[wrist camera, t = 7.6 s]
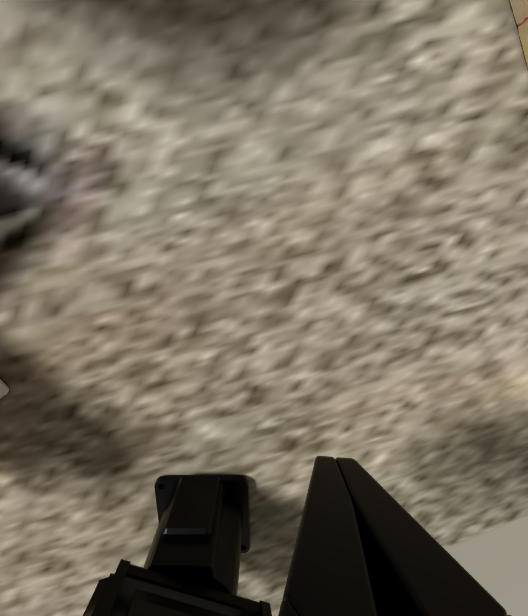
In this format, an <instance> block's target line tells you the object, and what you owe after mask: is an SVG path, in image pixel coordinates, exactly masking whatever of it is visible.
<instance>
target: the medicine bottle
mask: <svg viewBox="0 0 528 616" xmlns="http://www.w3.org/2000/svg"><path fill="white" fill-rule="evenodd" d="M8 391H9V388H8V386H7V385H6V384H5V383H4V382H3V381H2V380H1V379H0V398H2V397H3V396H5V395H6V394H7V393H8Z"/></svg>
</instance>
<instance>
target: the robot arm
mask: <svg viewBox="0 0 528 616" xmlns="http://www.w3.org/2000/svg"><path fill="white" fill-rule="evenodd" d="M161 483H162V484H164V485H162V484H161ZM239 483H242V484H243V485H240V484H239ZM155 494H156V503H157V511H158V520H159V525H158V528H157V531H156V534H155V537H154V540H153V542H152V545H151V548H150V551H149V554H148V556H147V559H146V562H145V565H144V568H142V567H139V566H135V565H132V564H130V562H129V561H126V560H122V559H121V561H120V563H119V565H118V568H117V570H116V572H115V574H112V573H111V574H110V576H109V577H107V578H104V579H101V580H99V583H98V585H97V587H96V589H95V591H94V593H93V595H92V598H91V600H90V602H89V604H88V606H87V608H86V610H85V612H84V614H83V616H272V614H271V608H270V603H267V602H264V601H260V602H256V601H253V600H250V599H246V598H243V597H240V596H237V591H238V578H239V566H240V553H246V552H248V551H249V548H250V527H249V490H248V479H247V478H246V477H244V476H160V477H159V478H158V479H157V480H156V483H155ZM278 616H511V615H507V613H506V610H505V609H504V608H503V607H502V606H501V605H500V604H499V603H498V602H497V601H496V600H495V599H494V598H493V597H492V596H491V595H490V594H489V593H488V592H487V591H486V590H485V589H484V588H483V587H482V586H481V585H480V584H479V583H478V582H477V581H476V580H475V579H474V578H473V577H472V576H471V575H470V574H469V573H468V572H467V571H466V570H465V569H464V568H463V567H462V566H461V565H460V564H459V563H458V562H457V561H456V560H455V559H454V558H453V557H452V556H451V555H450V554H449V553H448V552H447V551H446V550H445V549H444V548H443V547H442V546H441V545H440V544H439V543H438V542H437V541H436V540H435V539H434V538H433V537H432V536H431V535H430V534H429V533H428V532H427V531H426V530H425V529H424V528H423V527H422V526H421V525H420V524H419V523H418V522H417V521H416V520H415V519H414V518H413V517H412V516H411V515H410V514H409V513H408V512H407V511H406V510H405V509H404V508H403V507H402V506H401V505H400V504H399V503H398V502H397V501H396V500H395V499H394V498H393V497H392V496H391V495H390V494H389V493H388V492H387V491H386V490H385V489H384V488H383V487H382V486H381V485H380V484H379V483H378V482H377V481H376V480H375V479H374V478H373V477H372V476H371V475H370V474H369V473H368V472H367V471H366V470H365V469H364V468H363V467H362V466H361V465H360V464H359V463H358V462H357V461H355V460H354V459H352V458H340V457H337V458H336V459H334V458H333V457H327V456H317V457H316V459H315V463H314V467H313V472H312V476H311V480H310V484H309V489H308V493H307V497H306V501H305V506H304V510H303V514H302V518H301V523H300V527H299V531H298V536H297V540H296V544H295V548H294V553H293V557H292V561H291V565H290V570H289V574H288V578H287V582H286V587H285V591H284V595H283V601H282V603H281V607H280V611H279V615H278Z"/></svg>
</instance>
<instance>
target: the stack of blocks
mask: <svg viewBox="0 0 528 616" xmlns="http://www.w3.org/2000/svg"><path fill="white" fill-rule="evenodd" d="M510 3H511V6H512V9H513V14H514V17H515V20H516V23H517V25H518V30H519V36H520V40H521V44H522V47H523V51H524V55H525V60H526V63H527V66H528V0H510Z"/></svg>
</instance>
